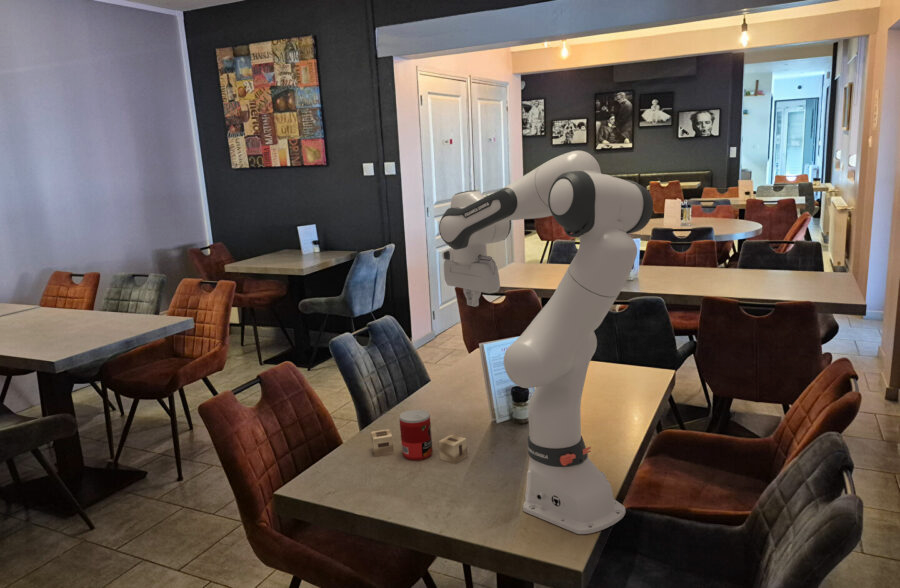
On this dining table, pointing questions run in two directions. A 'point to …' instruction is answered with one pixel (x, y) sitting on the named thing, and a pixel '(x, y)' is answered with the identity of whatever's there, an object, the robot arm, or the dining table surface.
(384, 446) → the marked cube far
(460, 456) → the marked cube near
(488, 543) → the dining table surface
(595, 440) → the dining table surface
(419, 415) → the canned food
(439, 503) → the dining table surface
